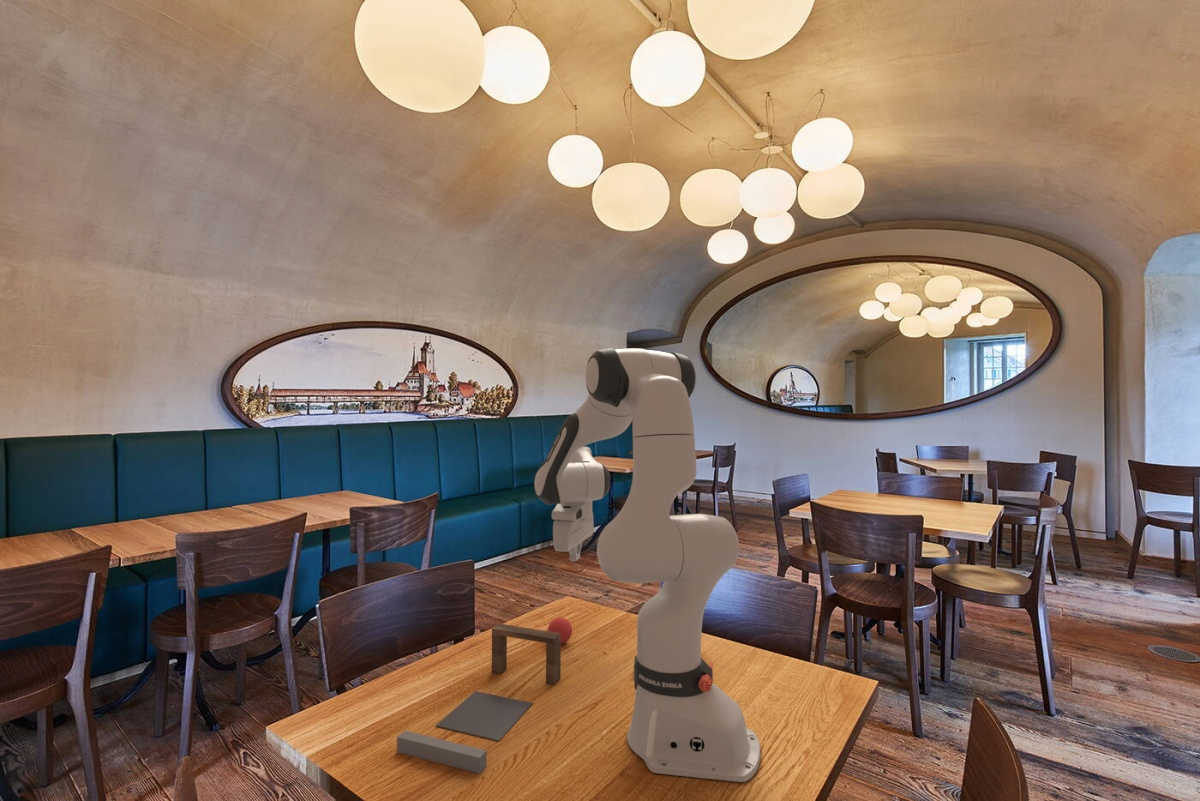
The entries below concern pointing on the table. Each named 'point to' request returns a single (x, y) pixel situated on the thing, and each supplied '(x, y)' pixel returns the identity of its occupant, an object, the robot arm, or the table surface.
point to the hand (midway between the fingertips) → (574, 560)
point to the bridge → (549, 638)
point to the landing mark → (485, 715)
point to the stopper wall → (442, 751)
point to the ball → (561, 628)
